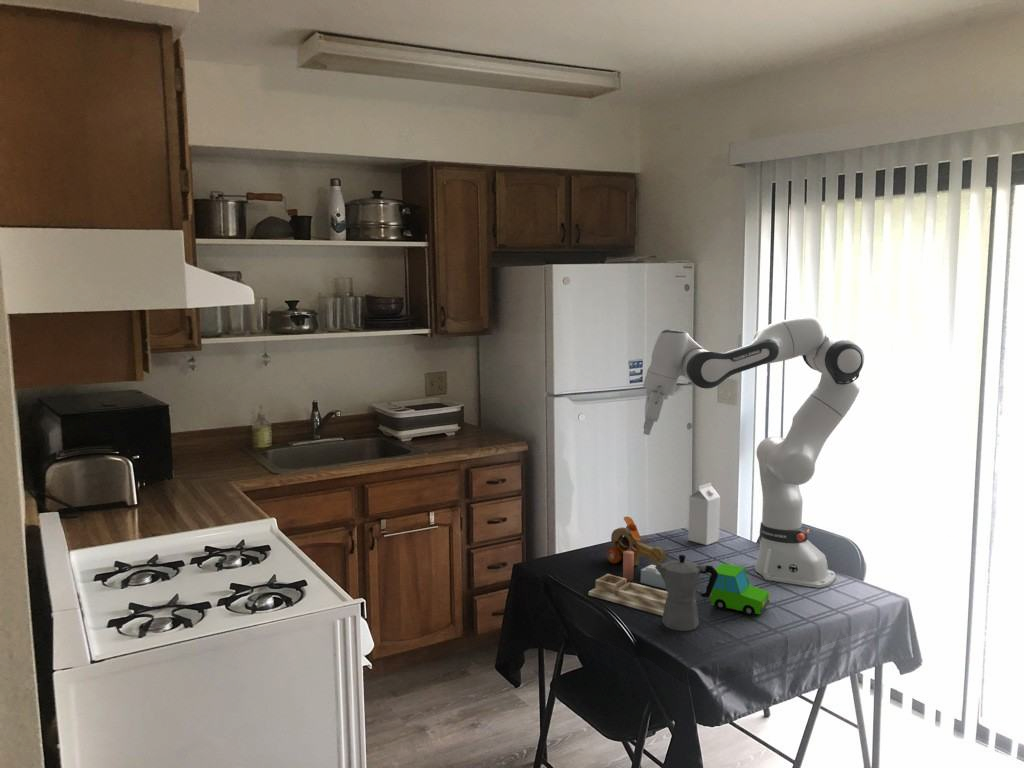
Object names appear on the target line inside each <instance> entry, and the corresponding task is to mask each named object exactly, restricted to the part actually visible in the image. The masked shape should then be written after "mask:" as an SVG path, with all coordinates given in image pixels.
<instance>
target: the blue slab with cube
mask: <svg viewBox="0 0 1024 768" xmlns="http://www.w3.org/2000/svg"><path fill="white" fill-rule="evenodd" d="M655 567H656V564H650V565H647V566H645V567H643V568H641V569H640V580H639V581H640V584H644V585H648V586H653V587H657V588H659V589H660V588H661V589H663V590H664V589H665V590H666V588H665V581H664V579H663V578H662V576H661V574H660V573H659V571H658V570H657V569H655Z"/></svg>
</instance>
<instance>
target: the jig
mask: <svg viewBox="0 0 1024 768" xmlns="http://www.w3.org/2000/svg"><path fill="white" fill-rule="evenodd" d="M588 596H590V597H595V598H597V599H601V600H605V601H609V602H612V603H615V604H619V605H623V606H625V607H626V606H627V607H629V608H633V609H636V610H639V611H640V610H641V611H644V612H648V613H651V614H655V615H658V616H662V617H663V613H664V608H665V603H666V599H667V597H668V592H667V591H666V590H664V589H663V590H662V589H660V588H654V587H651V586H647V585H642V584H641V583H640V584H639V583H636V582H635V583H634V582H633V581H627V579H626V578H623V576H622V577H621V576H617V575H615V574H614V575H613V574H611V573H606V574H605V575H603V576H600V577H599V578H596V579H595V587H594V588H593V589H591V590H589V591H588Z"/></svg>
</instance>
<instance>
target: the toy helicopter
mask: <svg viewBox="0 0 1024 768" xmlns="http://www.w3.org/2000/svg"><path fill="white" fill-rule="evenodd" d="M623 520H624V522H625V524H626V526H625V527H623V526H622V527H618V528H616V529H613V530H612V532H611V537H610V538H611V539H610V541H611V545H612V547H610V548H608V549H607V551H606V556H607V557H606V558H607V560H608V561H609V562H610V563H611V564H618V563H619V562H621V560H622V561H623V552H624V551H632V552H634V566H635V567H636V566H638V565H639V564H640V557H646V558H649V559H651V560H652V562H653V563H655V564H657V565H659V564H663V563H665V561H666V560H667V553H666V550H665V549H664V548H663V547H661V546H658V545H657V546H655V547H653V546H651V545H648V544H646V543H643V542H641V540H642V537H641V535H640V533H639V530H638V527H637V525H636V523H635V521H634V520H633V518H632V517H630V516H624V517H623Z"/></svg>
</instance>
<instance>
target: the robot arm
mask: <svg viewBox="0 0 1024 768" xmlns="http://www.w3.org/2000/svg"><path fill="white" fill-rule="evenodd" d="M797 357H802V358H803V361H804V363H805V364H806V365H807V366H808V367H809V368H810V369H812V370H814V371H816V372H817V373H820V374H821V375H820V380H819V382H818V385H817V386H816V388H815V389H813V391H812V392H811V393H810V395H809V396H808V397H807V398H806V400H805V401H804V402H803V403H802V405H801V406H800V407H799V409H798V410H797V411H796V413H795V414H794V415H793V417H792V422H791V423H792V424H791V425H790V428H789V431H788V432H787V434H786V436H785V438H784V437H780V436H770V437H766V438H764V439H763V440H762V441H760V442H759V444H758V445H757V447H756V458H757V461H758V467H759V478H760V485H761V493H762V512H761V515H762V516H761V519H762V520H761V522H760V525H759V541H760V544H759V549H758V553H757V559H756V563H755V565H754V570H755V572H757V573H758V574H759V575H761V576H763V578H764V580H766V581H773V582H778V583H786V584H791V585H798V586H803V587H811V588H815V589H816V588H817V589H819V588H820V589H821V588H824V587H828V586H831V585H832V584H833V583H834V582H835V581H836V578H837V577H836V573H835V571H833V570H831V569H829V568H828V560H827V557H826V555H825V554H824V552H822V550H819V548H817V547H816V546H815V545H814V544H813V543H812V542H811V541H810V540H808V538H809V537H808V535H809V533H810V528H808V529H807V530H806V529H805V527H804V526H803V523H802V519H803V496H802V495H801V494H802V493H801V491H800V485H803V484H806V483H808V482H809V481H810V480H811V479H812V478H813V476H814V474H815V469H816V463H817V460H818V457H819V455H820V453H821V451H822V449H823V446H824V445H825V443H826V441H827V439H829V437H830V436H831V434H832V433H833V432H834V430H835V429H836V428H837V427H838V425H839V424H840V422H842V420H843V419H844V417H846V415H847V414H848V412H849V411H850V410H851V407H853V406H852V405H853V404H854V403H855V401H856V400H857V399H856V398H857V397H858V395H859V392H860V386H859V383H858V381H857V379H858V378H860V372H861V371H862V368H863V366H864V362H865V353H864V351H863V349H862V348H861V347H860V345H858V344H857V343H855V342H853V341H852V340H849V339H845V338H843V337H839V336H834V335H833V336H832V335H827V334H826V332H825V328H824V326H823V324H822V323H821V321H820V320H819V319H818V318H816V317H814V316H800V317H795V318H789V319H784V320H780V321H776V322H773V323H770V324H768V325H766V326H763V327H762V328H760V329H758V330H757V331H756V333H755V334H754V337H753V341H752V342H751V343H750V344H747V345H745V346H741V347H738V348H735V349H731V350H728V351H726V352H716V351H709V350H707V349H705V348H704V347H703V346H701V345H699V344H698V342H696V341H695V340H694V339H693V338H692V336H690V334H689V333H688V332H687V331H685V330H681V329H680V330H678V329H668V328H667V329H664V330H662V331H661V332H660V333H659V334H658V337H657V339H656V341H655V345H654V347H653V349H652V354H651V361H650V365H649V366H648V368H647V370H646V373H645V377H644V380H643V384H642V387H643V388H645V390H646V391H645V394H646V399H645V405H644V424H643V432H642V433H643V435H647V436H650V435H651V431H652V428H653V425H654V424H655V422H658V421H659V418H660V415H661V412H662V407H663V405H664V400H668V398H669V396H673V395H674V394H675V391H676V388H677V383H678V381H679V377H683V378H685V379H687V380H688V381H690V382H691V383H693V384H694V385H695V386H697V387H698V388H701V389H713V388H716V387H717V386H720V384H722V383H723V382H724V381H725V380H727V379H729V378H730V377H731V376H734V375H735V374H739V373H741V372H745V371H747V370H751V369H754V368H757V367H759V366H763V365H767V364H773V363H778V362H783V361H788V360H790V359H795V358H797Z"/></svg>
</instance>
